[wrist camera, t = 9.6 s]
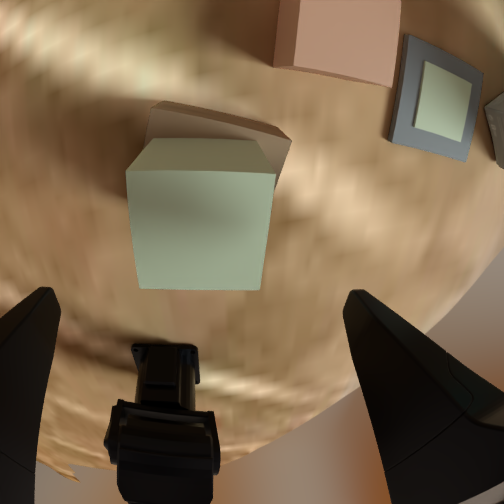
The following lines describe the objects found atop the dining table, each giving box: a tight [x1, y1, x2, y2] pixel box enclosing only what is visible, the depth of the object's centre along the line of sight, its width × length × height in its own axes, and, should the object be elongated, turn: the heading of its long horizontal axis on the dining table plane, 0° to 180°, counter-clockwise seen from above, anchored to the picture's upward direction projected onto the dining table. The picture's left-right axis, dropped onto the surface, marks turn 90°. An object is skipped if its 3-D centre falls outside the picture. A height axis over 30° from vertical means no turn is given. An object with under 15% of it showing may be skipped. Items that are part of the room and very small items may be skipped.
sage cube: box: [126, 138, 276, 290], centre depth 13 cm, size 5×5×5 cm
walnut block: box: [143, 101, 292, 190], centre depth 17 cm, size 7×7×4 cm
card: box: [388, 35, 484, 162], centre depth 16 cm, size 8×8×1 cm
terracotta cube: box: [273, 0, 401, 88], centre depth 12 cm, size 5×5×5 cm
